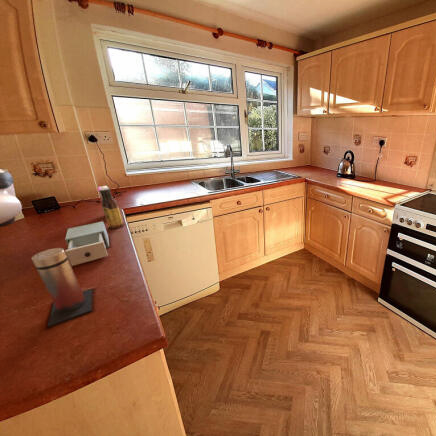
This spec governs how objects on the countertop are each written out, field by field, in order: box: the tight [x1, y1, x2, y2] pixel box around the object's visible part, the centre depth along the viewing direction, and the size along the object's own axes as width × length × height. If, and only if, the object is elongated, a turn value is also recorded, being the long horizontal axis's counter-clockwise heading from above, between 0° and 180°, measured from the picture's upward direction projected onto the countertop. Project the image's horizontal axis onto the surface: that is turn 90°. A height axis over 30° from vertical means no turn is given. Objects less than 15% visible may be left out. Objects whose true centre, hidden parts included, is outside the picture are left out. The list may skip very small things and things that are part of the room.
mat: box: [47, 288, 93, 328], centre depth 70 cm, size 9×12×1 cm
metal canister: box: [31, 247, 86, 313], centre depth 67 cm, size 6×6×17 cm
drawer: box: [64, 233, 109, 267], centre depth 95 cm, size 14×11×6 cm
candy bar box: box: [96, 185, 109, 202], centre depth 136 cm, size 11×5×16 cm, turn 38°
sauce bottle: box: [100, 187, 124, 230], centre depth 120 cm, size 6×6×20 cm
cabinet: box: [64, 220, 110, 249], centre depth 103 cm, size 13×12×8 cm
